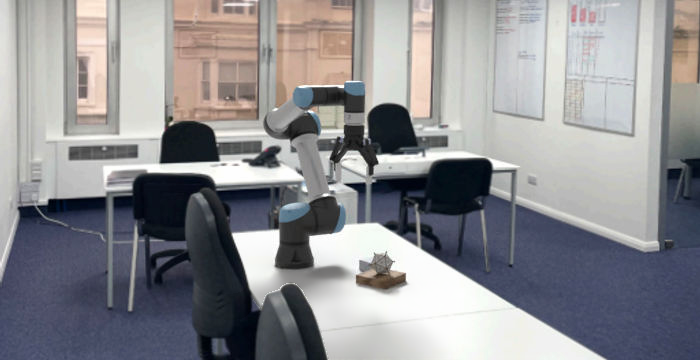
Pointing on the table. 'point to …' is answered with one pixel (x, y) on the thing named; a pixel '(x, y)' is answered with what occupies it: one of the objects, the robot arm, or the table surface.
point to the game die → (381, 263)
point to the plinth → (380, 279)
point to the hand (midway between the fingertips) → (353, 182)
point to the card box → (365, 263)
